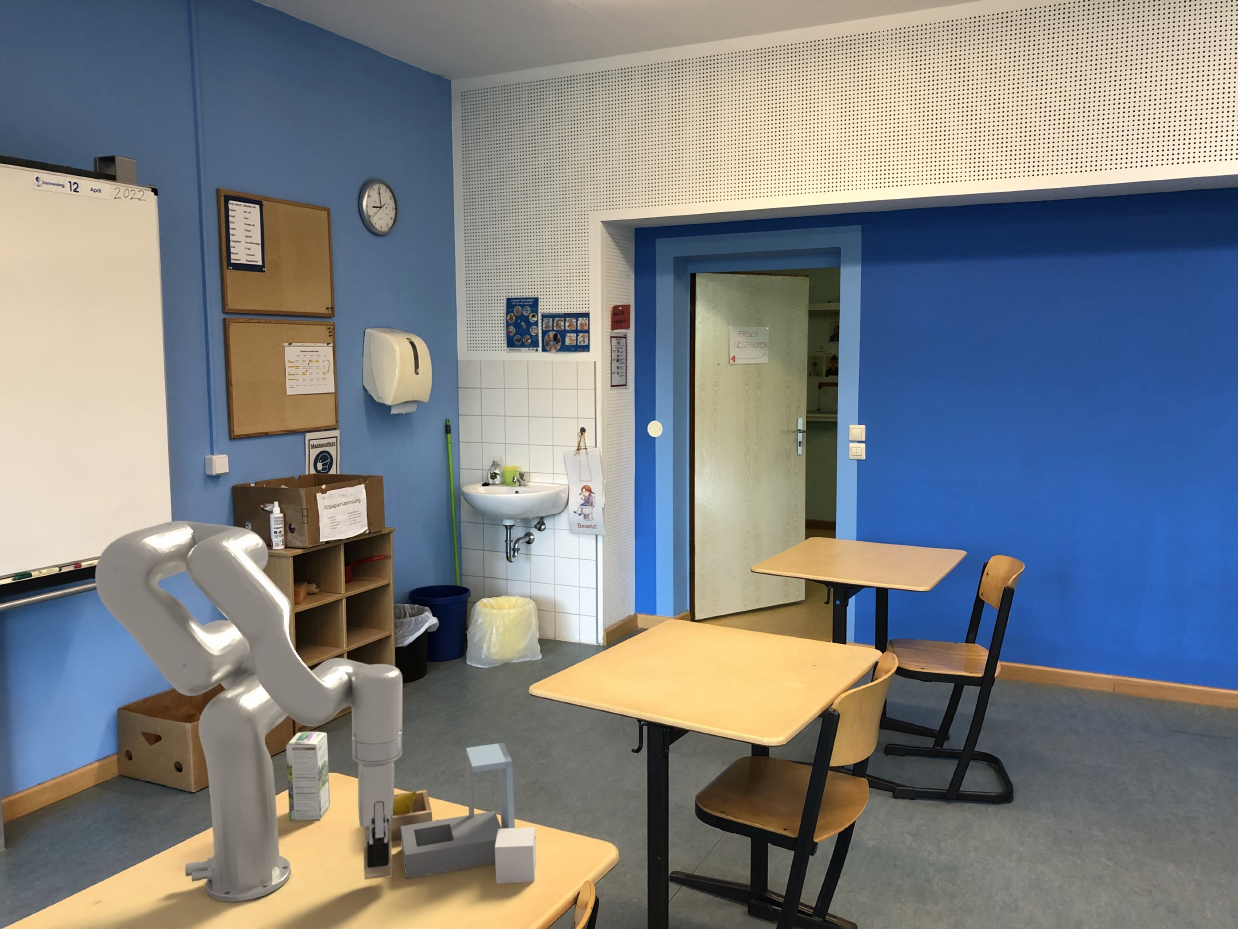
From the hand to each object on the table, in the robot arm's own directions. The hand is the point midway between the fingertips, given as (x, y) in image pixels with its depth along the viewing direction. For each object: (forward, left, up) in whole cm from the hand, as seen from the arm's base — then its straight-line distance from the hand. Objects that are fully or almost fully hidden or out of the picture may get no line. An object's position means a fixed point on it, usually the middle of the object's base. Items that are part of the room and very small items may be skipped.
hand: (377, 857), depth 148 cm
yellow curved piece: (+5, +19, -4) cm, 20 cm away
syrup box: (-11, +29, -5) cm, 32 cm away
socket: (+12, +5, -5) cm, 14 cm away
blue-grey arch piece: (+19, +6, -5) cm, 21 cm away
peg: (0, 0, -2) cm, 2 cm away
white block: (+21, -3, -5) cm, 22 cm away
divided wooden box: (+5, +18, -5) cm, 20 cm away
